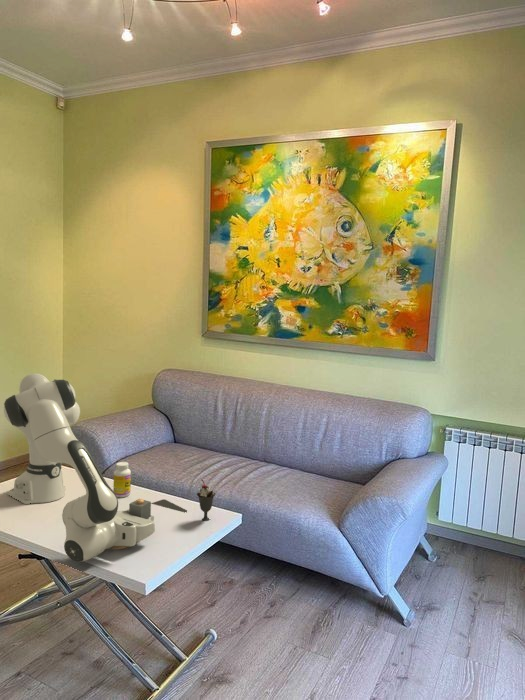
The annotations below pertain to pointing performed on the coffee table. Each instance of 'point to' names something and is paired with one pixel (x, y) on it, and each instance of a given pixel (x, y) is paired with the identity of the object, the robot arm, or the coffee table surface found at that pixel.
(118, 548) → the coaster
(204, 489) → the sundae
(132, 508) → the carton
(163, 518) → the coffee table surface
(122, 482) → the supplement bottle
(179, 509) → the smartphone
